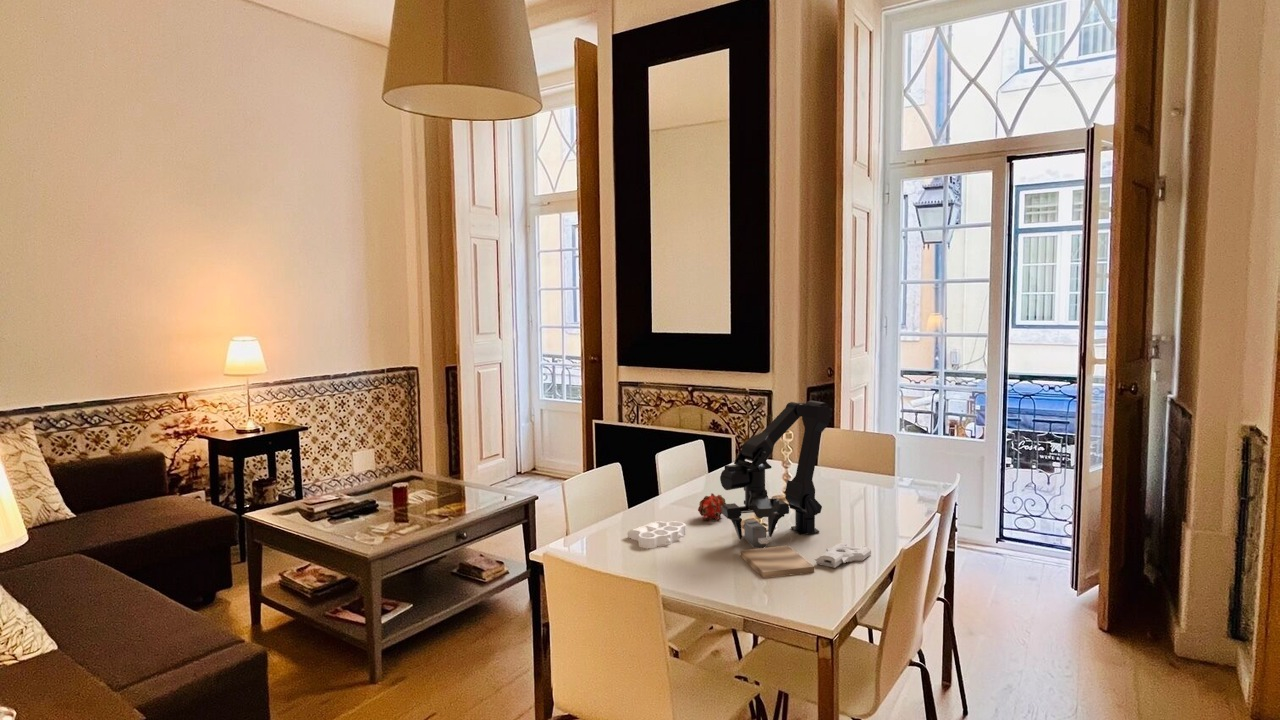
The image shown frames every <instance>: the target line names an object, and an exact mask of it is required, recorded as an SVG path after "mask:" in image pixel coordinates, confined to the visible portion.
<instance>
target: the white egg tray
mask: <svg viewBox="0 0 1280 720" xmlns="http://www.w3.org/2000/svg"><path fill="white" fill-rule="evenodd" d="M626 535H627V537H628V538H629V539H630V538H631V539H630V540H633V539H634V541H637V542H638V547H640V548H642V547H643V549H648V548H650V549H655V548H657V546H658V547H661V546H668V545H671V544H672V543H676V542H679V541H680V540H681V539H682V538H685V536H686V535H687V525H686V523H684V522H682V521H675V520H673V521H667V522H666V521H661V520H654V521H652V522H649V523H646V524H644V525H641V526H639V527H637V528H634V529H630V530H628V531H627V533H626ZM684 535H685V536H684Z"/></svg>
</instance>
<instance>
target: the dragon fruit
mask: <svg viewBox="0 0 1280 720" xmlns="http://www.w3.org/2000/svg"><path fill="white" fill-rule="evenodd" d="M724 504H727V503H726V499H725V497H723V496H722V494H717V495H715V494H714V493H710V495H705V496H704V497H703V498H702V499H701V500H700V502H699V507H698V508H697V512H698V513H699V514H700V516H702V517H703V518H702V520H703V521H704V520H705V521H709V520H708V519H710V520H711V519H715V520H716V519H717V520H716V521H718V520H719V519H721V517H722V516H721V515H723V514H722V506H723V505H724Z"/></svg>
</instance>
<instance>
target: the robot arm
mask: <svg viewBox="0 0 1280 720" xmlns="http://www.w3.org/2000/svg"><path fill="white" fill-rule="evenodd" d="M832 412H833V409H832V407H831V405H830V404H829V403H827V402H824V401H823V402H822V401H816V400H809V401H806V403H805V402H795V401H791V402H788V403H786V405H785V408H784V409H782V410H781V412H779V414H778V415H776V417H775V418H774V419H773V420H772V421H771V422H770V423H769V424H768V425H767V427H765V429H763V430H762V431H761V432H760V433H758V434H755V435H753V436H751V437H750V438H748V439H747V440H746V441H745V442H743V444H742V446H741V449H740V451H739V453H738V454H737V456H736V458H735V460H734V461H733V464H727V465H724V469H723V470H722V471H721V473H720V476H719V480H720V484H721V487H722V489H724V490H725V491H731V490H737V489H743V491H744V493H745V494H744V500H743V505H744V506H739V505H738V504H736V503H735V502H734V503H726V504H724V505H723V506H722V514H721V515H723V516H724V517H725V518H726V519H728V520H730V521H731V522H732V525H733V527H734V529H735V532H736V534H737V535H736V536H737V537H738V540H740V541H742V539H743V533H742V531H743V530H742V521H743V519H742V517H741V516H742V514H749V513H754V514H755V517H756V518H758V519H763V518H767V531H768V537H770V538H772V537H773V534H774V531H775V528H776V526H777V523H778V522H779V520H780V519H781V518H783V517H785V516H786V515H788V514H790V509H792V510H794V511H795V516H794V517H795V525H794V526H790V529H792V531H794V532H795V533H797V534H798V535H812V534H819V533H820V530H819V529H817V528H816V523H815V522H816V520H815V519H816V516H817V515H818V514H821V511H822V508H823V506H822V505H821V504H820V502H819V501H818V500H817V499H816V488H815V484H814V481H813V478H814V473H815V467H816V463H817V459H818V453H819V449H820V448H819V447H820V442H821V438H822V433H823V432H824V431H825V429H826V428H827V427H828V426H829V423H830V421H831V418H832V416H833V415H832V414H833V413H832ZM799 418H801V420H802V423H803V427H804V431H803V432H804V433H803V437H802V442H801V447H800V452H799V457H798V462H797V468H796V472H795V476H794V477H793V478H792V479H791V480H789V479H788V480H787V481H786V488H785V490H784V494H785V497H784V498H785V500H786V502H785V501H784V500H783V499H780V498H778V497H775V498H769V496H768V490H767V489H766V470H768V469H769V470H770V469H772V468H773V467H772V466H771V464H769V463H768V462H767V460H768V459H769V458H770V456H771V455H772V453H773V452H774V447H775V444H776V443H777V442H778V441H779V440H780V439H781V438H782V436H784V434H786V433H787V431H788V430H789V429H790V428H792V426H793V425H794V424H795V423H796V422H797V421H798V420H799Z"/></svg>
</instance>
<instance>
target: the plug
mask: <svg viewBox="0 0 1280 720" xmlns="http://www.w3.org/2000/svg"><path fill="white" fill-rule="evenodd" d="M742 528H743V529H744V531H743V532H744V534H743V535H744V540H745V541H746V542H747V543H748V544H749V545H751V546H752V547H754V549H759V548H764V547H765V548H767V544H769V543H770V539H769V538H768V537H767V528H766V526H764V525H763V524H761V523H760V522H759V521H758V520H755V519H748V520H747V519H746V520H745V521H744V524H743V527H742Z"/></svg>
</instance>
